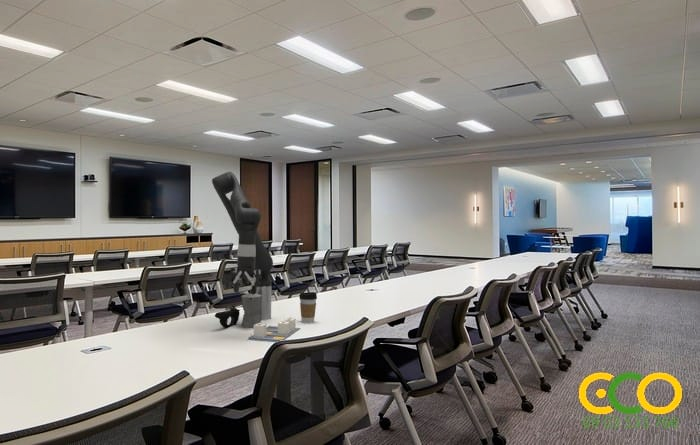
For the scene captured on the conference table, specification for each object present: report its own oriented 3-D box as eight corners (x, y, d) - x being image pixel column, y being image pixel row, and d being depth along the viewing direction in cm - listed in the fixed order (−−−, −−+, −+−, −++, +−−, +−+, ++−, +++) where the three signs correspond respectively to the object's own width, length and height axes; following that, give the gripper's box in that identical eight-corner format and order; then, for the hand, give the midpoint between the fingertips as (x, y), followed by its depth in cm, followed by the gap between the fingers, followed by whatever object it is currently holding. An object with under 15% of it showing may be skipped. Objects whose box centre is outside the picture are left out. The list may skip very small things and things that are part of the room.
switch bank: (246, 342, 179) (246, 338, 179) (270, 328, 202) (270, 325, 202) (280, 345, 176) (280, 341, 176) (300, 331, 199) (300, 327, 199)
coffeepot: (261, 331, 196) (261, 291, 196) (239, 332, 195) (239, 291, 195) (263, 323, 212) (263, 286, 212) (242, 324, 210) (243, 286, 210)
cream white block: (277, 335, 186) (277, 321, 186) (281, 332, 190) (281, 319, 190) (286, 335, 186) (286, 322, 186) (290, 333, 189) (290, 320, 189)
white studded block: (283, 331, 193) (283, 318, 193) (286, 329, 197) (287, 316, 197) (292, 332, 192) (292, 319, 192) (295, 329, 196) (295, 317, 196)
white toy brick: (253, 337, 182) (253, 323, 182) (257, 335, 186) (257, 321, 186) (262, 338, 181) (262, 324, 181) (266, 335, 185) (266, 322, 185)
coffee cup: (315, 326, 209) (316, 294, 209) (297, 325, 209) (298, 294, 209) (317, 322, 217) (317, 291, 217) (300, 321, 217) (300, 291, 217)
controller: (241, 326, 206) (241, 305, 206) (219, 331, 195) (219, 309, 195) (235, 325, 208) (235, 303, 208) (213, 330, 198) (213, 307, 198)
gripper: (227, 254, 187) (225, 292, 187) (255, 256, 182) (254, 296, 182) (237, 253, 194) (236, 290, 194) (265, 255, 189) (264, 293, 189)
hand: (244, 293), depth 188 cm, fingers open, 8 cm apart
